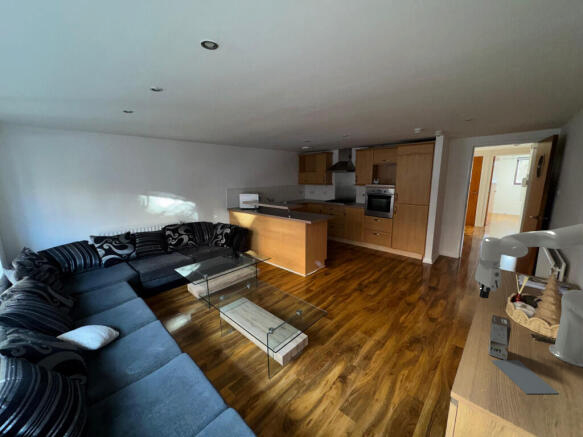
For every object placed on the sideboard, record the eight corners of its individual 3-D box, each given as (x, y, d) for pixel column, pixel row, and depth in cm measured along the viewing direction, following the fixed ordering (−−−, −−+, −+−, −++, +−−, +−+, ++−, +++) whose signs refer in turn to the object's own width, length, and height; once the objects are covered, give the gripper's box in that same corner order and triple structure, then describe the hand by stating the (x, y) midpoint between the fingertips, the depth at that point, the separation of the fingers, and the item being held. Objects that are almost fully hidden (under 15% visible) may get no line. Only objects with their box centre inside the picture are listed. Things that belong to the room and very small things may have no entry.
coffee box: (507, 361, 102) (511, 328, 100) (488, 354, 106) (492, 323, 104) (505, 349, 109) (509, 318, 107) (488, 343, 113) (491, 314, 111)
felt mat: (518, 360, 103) (518, 360, 103) (558, 393, 87) (558, 393, 87) (491, 360, 103) (491, 360, 103) (526, 394, 87) (526, 393, 87)
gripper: (511, 269, 104) (504, 305, 107) (484, 257, 118) (479, 290, 122) (494, 269, 104) (488, 305, 107) (470, 257, 118) (465, 290, 122)
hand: (483, 297), depth 114 cm, fingers closed
